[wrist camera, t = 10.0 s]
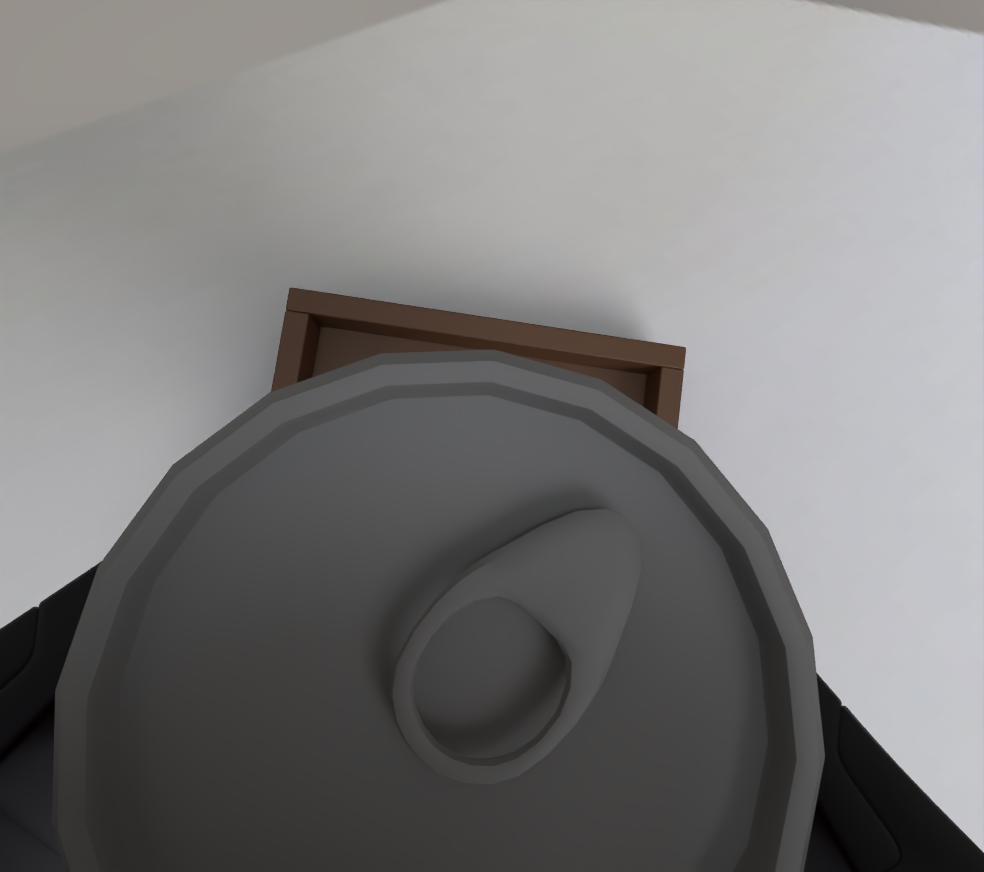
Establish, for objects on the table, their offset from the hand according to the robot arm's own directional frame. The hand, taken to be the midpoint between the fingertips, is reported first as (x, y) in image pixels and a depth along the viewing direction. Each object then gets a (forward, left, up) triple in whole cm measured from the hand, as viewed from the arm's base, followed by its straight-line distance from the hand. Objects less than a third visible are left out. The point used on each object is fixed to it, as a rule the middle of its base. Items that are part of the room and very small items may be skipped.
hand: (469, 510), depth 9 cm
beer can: (-1, +1, -7) cm, 7 cm away
